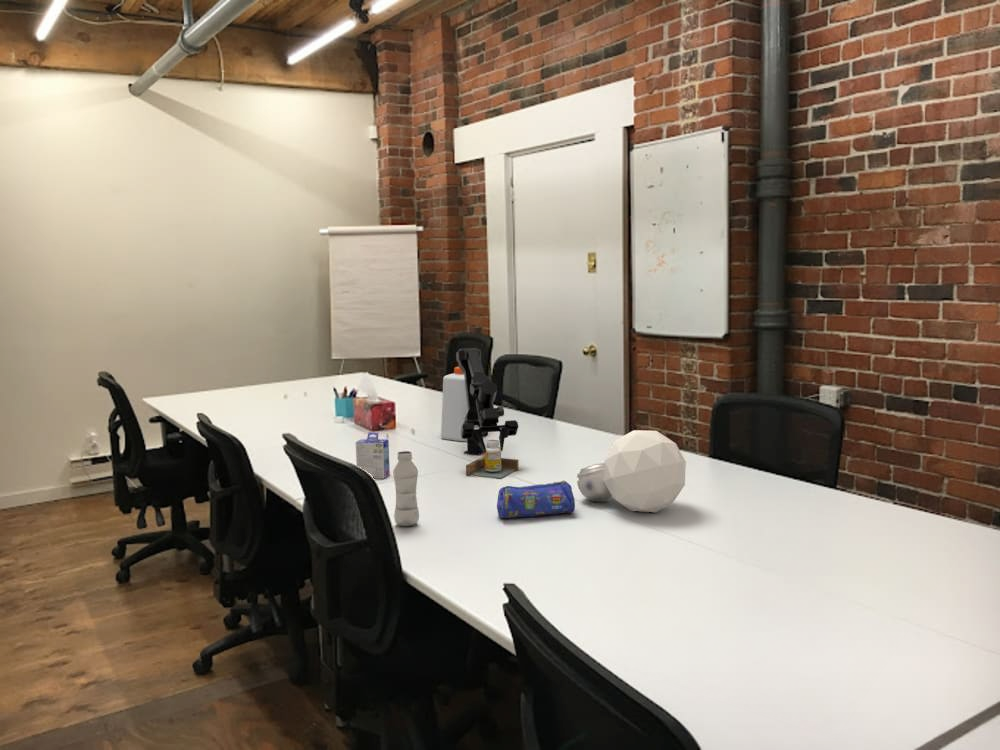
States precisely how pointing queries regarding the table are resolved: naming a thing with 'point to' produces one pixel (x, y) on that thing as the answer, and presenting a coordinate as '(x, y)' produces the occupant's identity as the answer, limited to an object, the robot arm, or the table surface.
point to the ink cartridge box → (373, 456)
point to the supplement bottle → (493, 456)
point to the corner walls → (480, 464)
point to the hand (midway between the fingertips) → (493, 451)
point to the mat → (493, 473)
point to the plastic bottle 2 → (454, 405)
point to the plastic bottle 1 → (405, 490)
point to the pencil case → (535, 500)
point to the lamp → (637, 473)
